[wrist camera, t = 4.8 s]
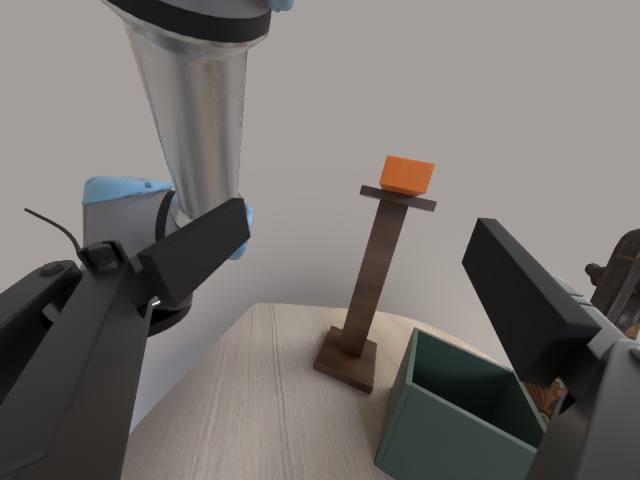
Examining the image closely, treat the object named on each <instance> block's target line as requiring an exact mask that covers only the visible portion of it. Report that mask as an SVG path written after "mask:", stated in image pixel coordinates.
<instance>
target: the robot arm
mask: <svg viewBox="0 0 640 480" xmlns="http://www.w3.org/2000/svg"><path fill="white" fill-rule="evenodd" d="M100 1H102V2H103V3H104V4H105V5H106V6H107V7H109V8H110V9H111V10H112V11H114V12H115V13H116V14H117V15H118V16H119V17H120V18H122V19H123V22H124V25H125V28H126V32H127V35H128V38H129V41H130V45H131V48H132V51H133V54H134V57H135V61H136V64H137V67H138V71H139V74H140V77H141V80H142V84H143V87H144V90H145V93H146V97H147V100H148V103H149V106H150V109H151V113H152V116H153V119H154V123H155V126H156V129H157V132H158V135H159V139H160V142H161V145H162V149H163V152H164V155H165V158H166V162H167V165H168V168H169V172H170V175H171V178H172V181H173V185H174V188H175V191H172V190H171V189H172V186H171V183H170V182H168V181H163V180H155V179H146V178H133V177H114V176H98V177H92V178H90V179H88V180H87V181H86V183H85V186H84V194H83V201H82V205H83V248H81V249H80V247H79V245H78V243H77V241H76V239H75V238H74V237H73V236H72V234H71V233H69V232H68V231H67V230H66V229H65V228H63V227H62V226H60V225H58V224H56V223H55V222H53V221H51V220H49V219H47V218H45V217H43V216H41V215H39V214H37V213H35V212H33V211H31V210H29V209H27V208H25V209H24V210H25V211H27V212H29V213H31V214H33V215H35V216H36V217H38V218H40V219H43V220H45V221H47V222H48V223H50V224H52V225H54V226H56V227H57V228H59V229H60V230H61V231H63V232H64V233H65V234H66V235H67V236H68V237H69V238H70V239H71V241H72V242H73V244H74V247H75V248H76V253H77V256H78V258H79V259H80V260H81V261H82V265H81V267H80V269H79V268H78V267H77V265H76V264H75V262H74V261H71V260H63V261H55V262H52V263H48V264H45V265H44V266H42V267H40V268H38V269H36V270H34V271H32V272H31V273H29V274H28V275H27V276H25V277H24V278H23V279H21V280H20V281H18V282H17V283H15V284H14V285H12V286H11V287H10V288H8V289H7V290H5V291H4V292H3V293H1V294H0V480H120V477H121V472H122V467H123V462H124V456H125V451H126V446H127V441H128V435H129V430H130V425H131V420H132V414H133V409H134V403H135V399H136V393H137V388H138V383H139V377H140V372H141V367H142V362H143V356H144V352H145V346H146V341H147V336H148V331H149V325H150V320H151V315H152V310H154V309H157V308H159V307H160V306H162V305H163V306H167V307H172V308H177V307H178V306H179V305H180V304H181V303H182V302H183V301H184V300H185V299H186V298H187V297H188V296H189V295H190V294H191V293H192V292H193V291H194V290H195V289H197V288H198V286H199V285H201V284H202V283H203V282H204V281H205V280H206V279H207V278H208V277H209V276H210V275H211V274H212V273H213V272H214V271H215V270H216V269H217V268H218V267H220V266H221V265H222V264H223V263H224V261H226V260H227V259H228V260H237V259H239V258H240V257H241V256H242V255H243V253H244V251H245V249H246V245H247V241H248V239H249V238H250V231H251V226H252V220H253V209H252V208H251V206H248V205H246V204H245V203H244V199H243V198H242V197H241V195H240V194H239V193H238V184H239V168H240V153H241V138H242V121H243V107H244V92H245V91H244V90H245V75H246V62H247V50H248V49H249V48H251V47H253V46H254V45H256V44H257V43H259V42H261V41H262V40H263V39H264V38H265V37H266V36H267V34H268V32H269V26H270V19H271V10H273V11H275V12H280V11H288V10H290V9H291V8H292V6H293V2H294V0H100ZM462 264H463V266H464V268H465V270H466V272H467V274H468V276H469V279H470V280H471V283H472V285H473V287H474V289H475V291H476V293H477V295H478V297H479V299H480V301H481V303H482V305H483V307H484V309H485V311H486V313H487V315H488V317H489V319H490V321H491V323H492V325H493V328H494V330H495V332H496V334H497V336H498V338H499V340H500V342H501V344H502V346H503V348H504V350H505V352H506V354H507V356H508V358H509V360H510V362H511V364H512V366H513V368H514V370H515V372H516V375H517V377H518V379H519V381H520V382H525V383H529V384H534V385H539V386H544V387H549V386H550V385H551V384H552V383H553V382H554V381H555V380H556V379H557V378H558V377H560V378H561V380H562V382H563V383H564V385H565V386H566V388H567V390H566V391H565V392H564V393H563V394H562V395H561V396H560V397H559V398H558V399H557V400H556V401H555V402H554V403H553V404H552V405H551V406H550V407H549V408H548V409H550V410H551V411H552V412H553V411H554V413H553V415H552V418H551V420H550V422H549V424H548V427H547V429H546V431H545V434H544V436H543V438H542V440H541V443H540V445H539V447H538V450H537V452H536V454H535V456H534V459H533V461H532V463H531V466H530V468H529V470H528V472H527V475H526V477H525V479H524V480H640V341H635V340H631V339H628V338H627V337H626V336H625V335H624V334H623V333H622V332H621V331H620V330H619V329H618V328H617V327H616V326H615V325H614V324H613V323H611V322H610V321H609V320H608V319H607V318H606V317H605V316H604V315H603V314H602V313H601V312H600V311H599V310H598V309H597V308H596V307H593V304H592V303H590V302H589V301H588V300H587V299H586V298H583V295H582V294H581V293H580V292H579V291H578V290H577V289H576V288H575V287H574V286H573V285H571V284H570V283H568V282H566V281H565V280H563V279H561V278H560V277H558V276H556V275H550V274H549V273H548V272H547V271H546V270H545V269H544V268H543V267H542V266H541V265H540V264H539V263H538V262H537V261H536V260H535V259H534V258H533V257H532V256H531V255H530V254H529V253H528V252H527V251H526V250H525V249H524V248H523V247H522V246H521V245H520V243H519V242H518V241H516V239H515V238H514V237H513V236H512V235H511V234H509V232H508V231H506V229H505V228H504V227H503V226H502V225H501V224H500V223H499V222H498V221H497V220H496V219H488V218H478V220H477V222H476V225H475V228H474V230H473V233H472V236H471V238H470V241H469V244H468V247H467V249H466V252H465V255H464V257H463V260H462ZM47 305H49V306H50V307H51V308H52V309H53V311H54V312H55V313H56V314H57V315H58V317H57V318H56V319H55V320H54V321H51V320H49V319H48V318H47V316H46V315H45V314H44V313H43V312H42V310H43V309H44V308H45V307H46V306H47Z"/></svg>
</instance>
